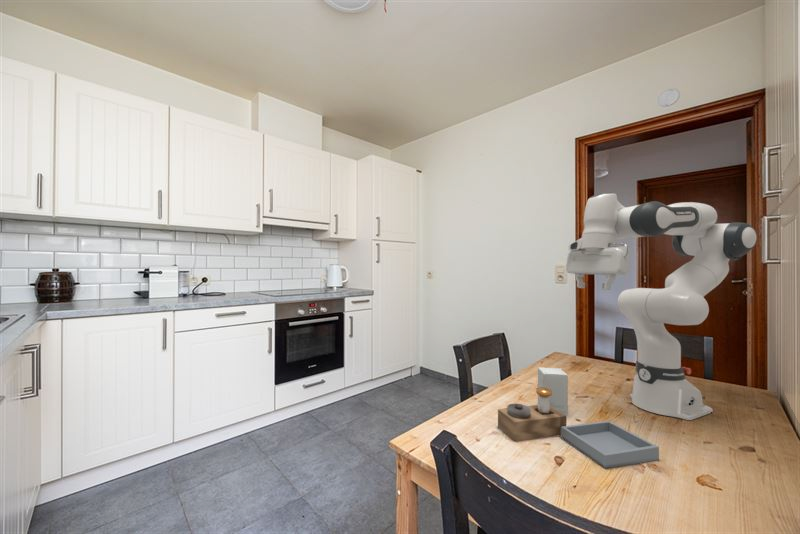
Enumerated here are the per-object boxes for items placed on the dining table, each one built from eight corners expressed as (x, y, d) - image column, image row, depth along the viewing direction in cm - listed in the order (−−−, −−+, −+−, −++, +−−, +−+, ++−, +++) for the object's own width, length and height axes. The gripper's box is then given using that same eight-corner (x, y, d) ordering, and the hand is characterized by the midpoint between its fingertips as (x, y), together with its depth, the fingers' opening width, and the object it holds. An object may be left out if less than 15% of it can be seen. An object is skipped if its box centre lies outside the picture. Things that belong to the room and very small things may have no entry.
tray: (608, 431, 88) (608, 420, 89) (658, 459, 75) (658, 446, 75) (560, 438, 85) (561, 426, 85) (605, 468, 72) (605, 455, 72)
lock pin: (545, 425, 92) (545, 386, 92) (554, 431, 88) (555, 391, 88) (533, 426, 91) (533, 387, 91) (542, 433, 87) (542, 393, 87)
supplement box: (568, 416, 97) (568, 375, 98) (542, 414, 99) (542, 373, 99) (561, 406, 105) (561, 368, 105) (537, 404, 106) (537, 366, 106)
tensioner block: (546, 421, 94) (546, 395, 94) (566, 434, 87) (566, 407, 87) (497, 426, 90) (498, 400, 91) (514, 441, 83) (514, 412, 83)
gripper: (637, 243, 90) (632, 292, 89) (580, 248, 110) (576, 288, 109) (619, 240, 88) (614, 289, 88) (564, 245, 108) (560, 286, 108)
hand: (592, 288), depth 99 cm, fingers open, 8 cm apart
